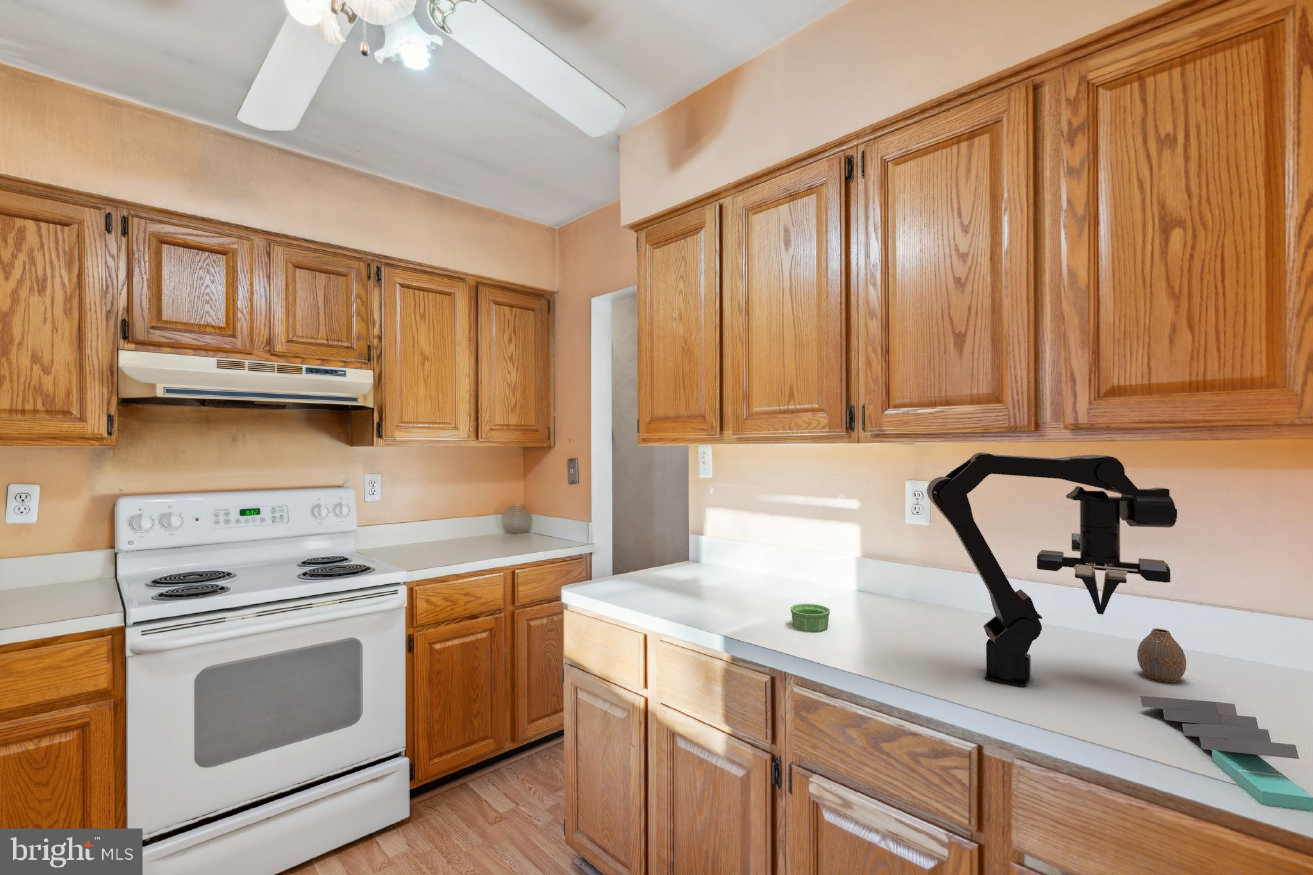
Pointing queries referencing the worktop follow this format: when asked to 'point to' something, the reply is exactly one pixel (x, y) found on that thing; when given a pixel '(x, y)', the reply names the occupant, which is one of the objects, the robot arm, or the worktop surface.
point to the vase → (1161, 656)
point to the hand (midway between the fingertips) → (1100, 613)
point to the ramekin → (810, 617)
